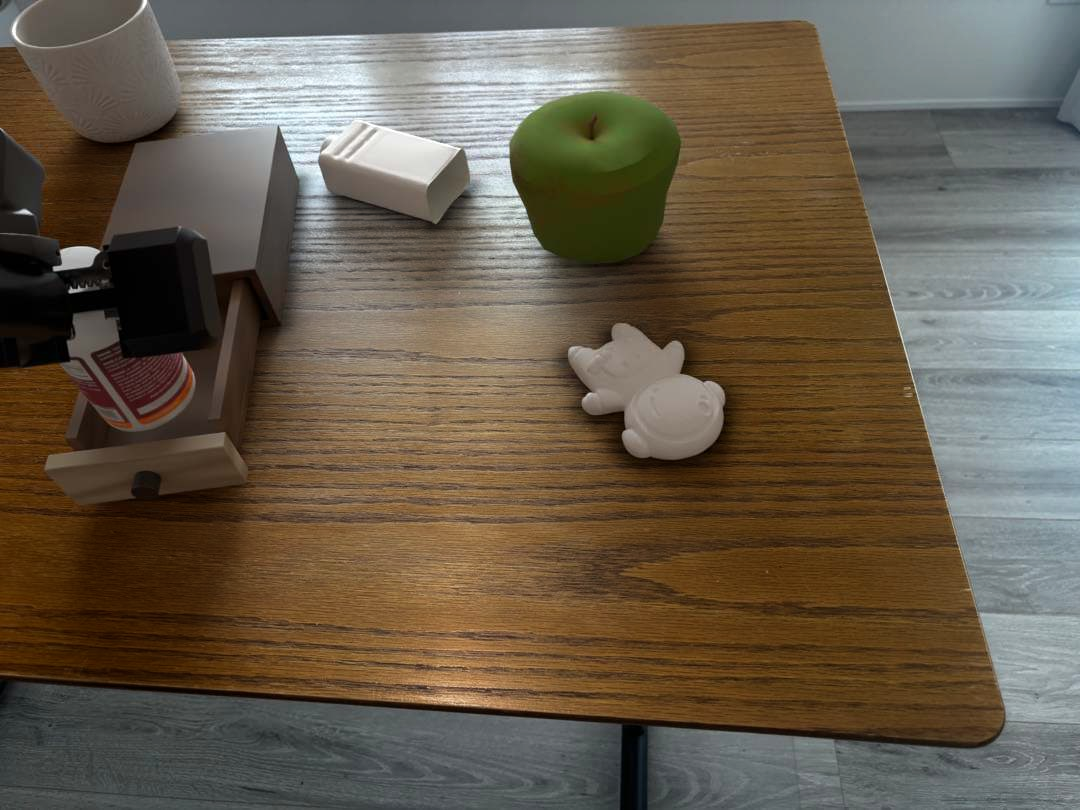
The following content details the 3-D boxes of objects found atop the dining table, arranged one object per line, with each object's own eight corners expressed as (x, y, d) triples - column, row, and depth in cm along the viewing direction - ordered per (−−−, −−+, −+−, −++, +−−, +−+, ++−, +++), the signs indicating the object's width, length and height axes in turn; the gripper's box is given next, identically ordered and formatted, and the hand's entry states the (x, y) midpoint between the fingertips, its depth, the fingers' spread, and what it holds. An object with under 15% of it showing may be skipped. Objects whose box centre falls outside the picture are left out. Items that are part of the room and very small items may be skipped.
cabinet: (281, 325, 65) (255, 269, 61) (122, 346, 65) (84, 291, 61) (299, 181, 77) (278, 124, 72) (164, 198, 77) (135, 142, 72)
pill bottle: (201, 355, 57) (127, 227, 49) (195, 424, 54) (113, 299, 45) (109, 373, 57) (18, 247, 49) (97, 444, 53) (-5, 321, 45)
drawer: (244, 499, 54) (220, 462, 51) (73, 522, 54) (37, 486, 51) (272, 299, 66) (254, 258, 63) (131, 317, 66) (105, 278, 63)
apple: (661, 181, 72) (666, 58, 64) (685, 279, 65) (695, 154, 56) (517, 197, 73) (502, 76, 64) (524, 295, 65) (508, 174, 56)
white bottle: (355, 152, 79) (343, 111, 76) (472, 183, 74) (465, 142, 71) (313, 192, 76) (298, 152, 72) (433, 228, 71) (423, 187, 68)
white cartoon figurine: (650, 318, 63) (651, 288, 60) (750, 429, 56) (755, 400, 53) (547, 366, 60) (544, 337, 58) (637, 487, 54) (638, 460, 51)
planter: (76, 170, 81) (10, 64, 72) (66, 107, 88) (6, 4, 79) (203, 131, 83) (155, 23, 75) (183, 73, 90) (137, -31, 82)
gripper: (108, 85, 35) (238, 158, 50) (-340, 143, 35) (-71, 198, 50) (155, 353, 36) (268, 343, 51) (-279, 409, 36) (-35, 383, 51)
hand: (107, 313), depth 51 cm, fingers closed on pill bottle, 6 cm apart
